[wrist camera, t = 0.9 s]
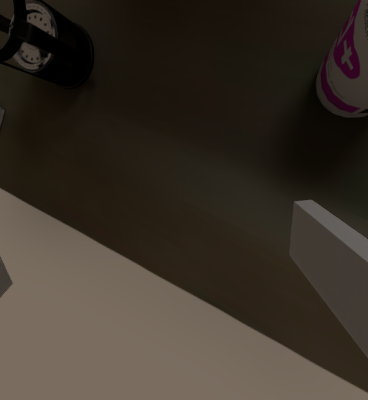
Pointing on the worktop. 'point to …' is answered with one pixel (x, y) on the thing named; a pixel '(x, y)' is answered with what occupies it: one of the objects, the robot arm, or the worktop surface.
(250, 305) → the worktop surface
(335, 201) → the worktop surface
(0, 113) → the syrup box
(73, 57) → the french press
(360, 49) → the supplement can
